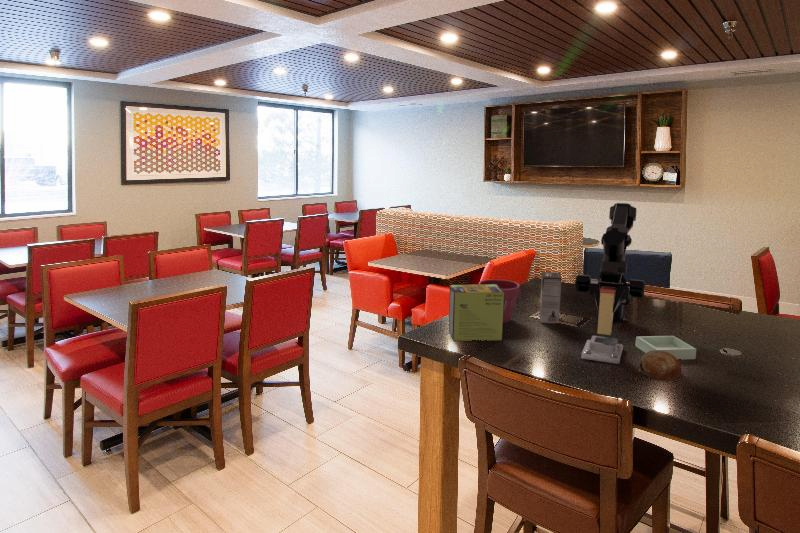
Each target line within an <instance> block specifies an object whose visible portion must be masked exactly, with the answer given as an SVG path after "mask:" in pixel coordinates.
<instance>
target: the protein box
mask: <svg viewBox="0 0 800 533" xmlns="http://www.w3.org/2000/svg"><path fill="white" fill-rule="evenodd" d="M448 301H449V303H448V304H449V309H448V311H449V312H448V333H449V334H450V336H451V338H452V340H453V341H454V342H466V341H467V342H469V341H470V342H471V341H472V340H476V341H477V340H479V342H480V340H481V342H482V341H483V342H484V341H485V340H487V341H502V340H503V325H504V323H503V303H504V292H503V291H502V290H501V289H500V288H499V287H498V286H497V285H496V284H488V285H479V284H451V285H449V300H448ZM476 341H475V342H476ZM472 342H473V341H472Z"/></svg>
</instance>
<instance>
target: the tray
mask: <svg viewBox="0 0 800 533" xmlns="http://www.w3.org/2000/svg"><path fill="white" fill-rule="evenodd" d="M634 344H635V347H636V348H637V349H639V350H640V351H642V353H644V354H646V353H647V352H649V351H652V350H659V351H664V352H668V353H670V354H672V355H673V356H675V358H676V359H677V360H678V359H681V360H696V359H697V358H696V357H697V348H695V347H694V346H692V345H690V344H689V343H687V342H685V341H684V340H682V339H680V338H678V337H676V336H675V335H651V336H650V335H649V336H647V335H645V336H643V335H642V336H640V335H639V336H638V335H637V336H636V338H635V343H634ZM678 361H679V360H678Z"/></svg>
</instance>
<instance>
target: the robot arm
mask: <svg viewBox="0 0 800 533" xmlns="http://www.w3.org/2000/svg"><path fill="white" fill-rule="evenodd" d="M637 212H638V211H637V207H634V206H632V205H631V204H630V203H627V202H626V203H625V202H616V203H614V204H613V205H612V206H610V207H609V216H608V219H609V221H610V224H611V225H609V226H608V227H606V229H605V230H606V231H605V233H603V234H602V236H601V243H600V244H601V245H603V246H602V248H603V249H602V250H603V258H602V261H601V264H600V270H599V276H598V278H599V279H597V278H591V275H588V274H577V275H576V276H575V279H574V280H575V291H577V292H579V293H589V295H590V296H592V297H593V299H594V301H595V305H596V309H597V311H598V312H599V304H600V288H601V286H607V287H616V291H615V298H614V305H613V322H612V324H613V323H614V324H617V323H622V322H627V321H628V319H626V318H624V315H625V306H628V305H631V298H636V299H637V298H638V299H643V298H644V297H645V290H646V289H645V288H646V282H645V281H644V279H635V278H634V279H629V283H628V282H627V280H626V277H625V275H624V274H627V269H628V261H626V253H627V252H626V251H627V248H628V247H630V246H631V245H632V237H631V235H630V234H629V232H630V231H631V229H632V228H633V227H634V222H636V220H637Z"/></svg>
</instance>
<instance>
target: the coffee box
mask: <svg viewBox="0 0 800 533" xmlns="http://www.w3.org/2000/svg"><path fill="white" fill-rule="evenodd" d="M540 282H541V283H540V299H539V300H540V301H539V320H540V323H542V324H555V323H559V321H560V309H561V294H562V283H563V282H562V274H561V272H556V271H555V272H552V271H551V272H550V271H541V281H540ZM559 324H560V323H559Z"/></svg>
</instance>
